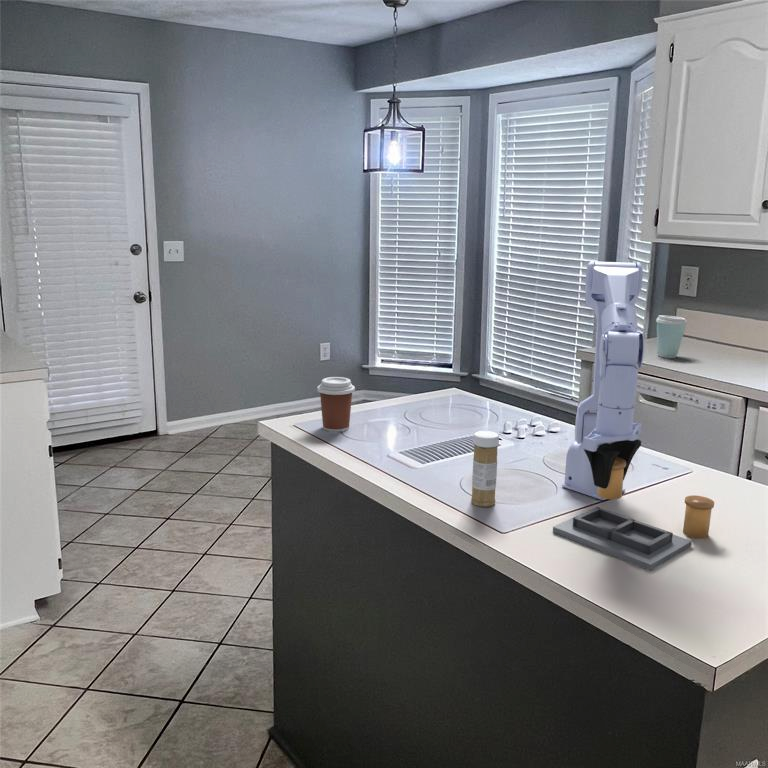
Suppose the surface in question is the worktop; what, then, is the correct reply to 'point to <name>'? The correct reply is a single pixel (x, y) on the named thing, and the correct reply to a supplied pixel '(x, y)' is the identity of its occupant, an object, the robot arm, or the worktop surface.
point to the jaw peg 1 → (614, 481)
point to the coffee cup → (336, 403)
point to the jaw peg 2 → (697, 516)
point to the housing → (623, 537)
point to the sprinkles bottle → (484, 468)
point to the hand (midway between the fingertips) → (608, 483)
